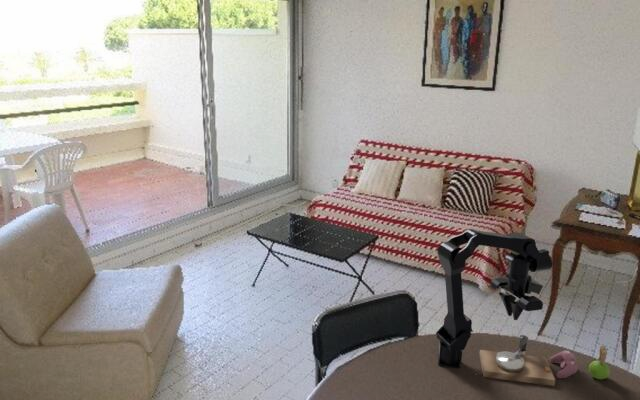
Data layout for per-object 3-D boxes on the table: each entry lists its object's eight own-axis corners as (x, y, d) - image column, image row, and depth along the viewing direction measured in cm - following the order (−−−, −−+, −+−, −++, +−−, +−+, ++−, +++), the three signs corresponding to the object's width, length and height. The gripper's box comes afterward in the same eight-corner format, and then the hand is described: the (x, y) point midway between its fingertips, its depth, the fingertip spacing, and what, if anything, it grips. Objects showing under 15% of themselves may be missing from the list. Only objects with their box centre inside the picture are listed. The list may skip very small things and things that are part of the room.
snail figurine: (589, 382, 150) (595, 346, 147) (586, 370, 156) (593, 336, 153) (609, 386, 148) (616, 350, 145) (606, 374, 154) (613, 339, 151)
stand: (483, 376, 151) (484, 369, 151) (479, 355, 163) (480, 348, 162) (554, 386, 148) (555, 378, 147) (544, 363, 159) (545, 356, 158)
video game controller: (569, 385, 151) (583, 368, 149) (555, 377, 151) (569, 360, 149) (560, 366, 160) (574, 350, 158) (547, 359, 161) (561, 342, 158)
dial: (516, 375, 149) (518, 356, 147) (491, 363, 154) (493, 345, 153) (535, 358, 157) (538, 340, 156) (511, 348, 163) (513, 330, 161)
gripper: (561, 282, 152) (553, 328, 156) (520, 260, 169) (515, 302, 174) (530, 286, 149) (523, 333, 153) (492, 263, 166) (487, 306, 170)
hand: (512, 317), depth 163 cm, fingers open, 3 cm apart
